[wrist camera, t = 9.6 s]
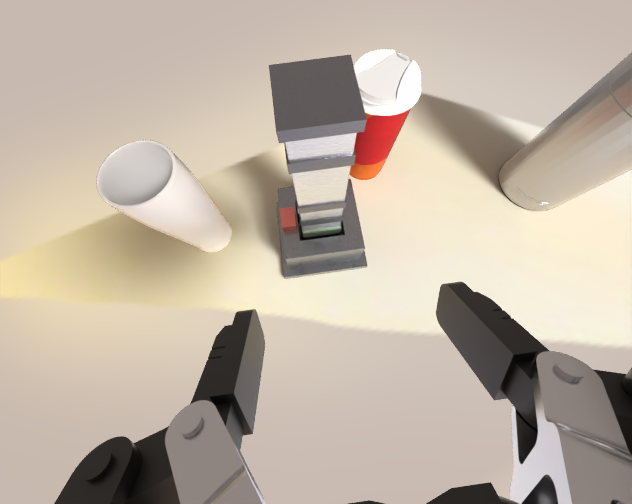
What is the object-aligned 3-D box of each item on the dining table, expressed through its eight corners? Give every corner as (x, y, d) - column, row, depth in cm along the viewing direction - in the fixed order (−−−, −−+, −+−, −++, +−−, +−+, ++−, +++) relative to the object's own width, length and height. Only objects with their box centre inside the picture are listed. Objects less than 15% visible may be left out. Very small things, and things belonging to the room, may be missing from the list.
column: (298, 205, 29) (268, 65, 13) (335, 200, 29) (350, 54, 13) (302, 240, 28) (276, 131, 12) (341, 234, 28) (366, 119, 12)
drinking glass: (189, 219, 35) (95, 146, 20) (235, 209, 35) (174, 131, 21) (193, 263, 33) (91, 217, 18) (241, 252, 33) (178, 199, 19)
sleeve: (277, 205, 35) (266, 177, 28) (351, 195, 35) (358, 164, 28) (285, 278, 32) (274, 266, 25) (366, 267, 32) (378, 252, 25)
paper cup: (357, 135, 38) (376, 34, 25) (398, 160, 37) (441, 66, 23) (327, 169, 36) (330, 80, 23) (368, 196, 35) (397, 118, 22)
